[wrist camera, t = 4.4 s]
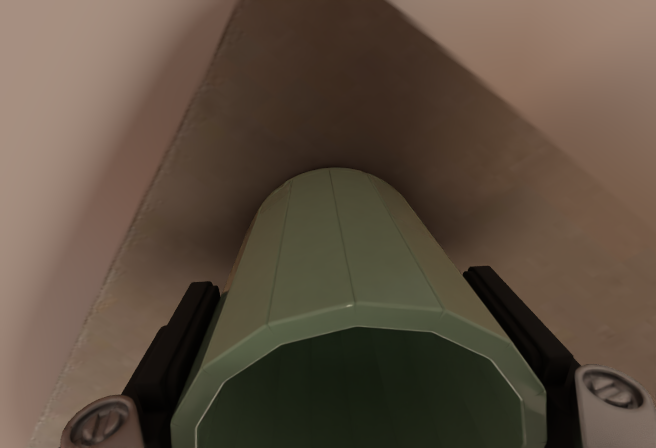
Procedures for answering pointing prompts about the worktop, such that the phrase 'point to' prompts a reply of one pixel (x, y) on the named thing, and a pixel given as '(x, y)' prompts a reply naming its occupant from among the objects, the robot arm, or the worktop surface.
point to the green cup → (353, 335)
